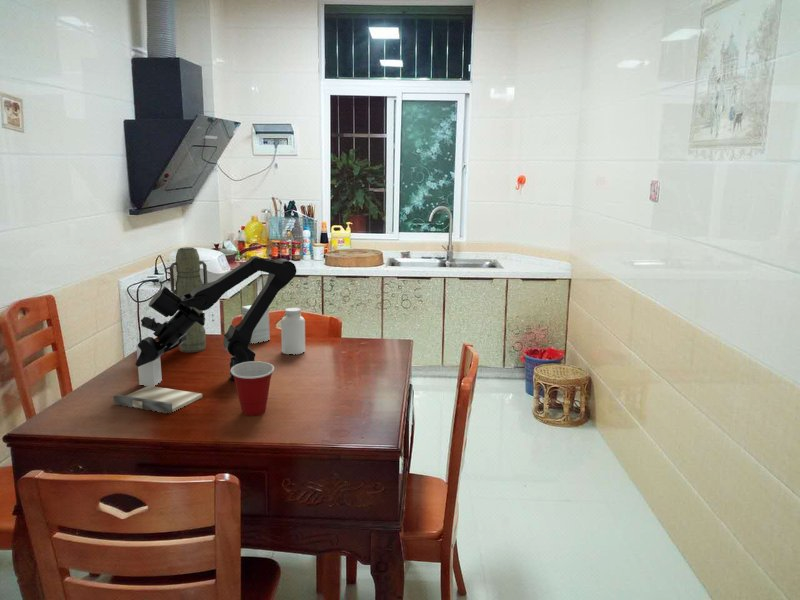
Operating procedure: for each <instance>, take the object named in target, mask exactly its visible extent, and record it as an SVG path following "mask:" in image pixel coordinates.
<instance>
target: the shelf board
mask: <svg viewBox="0 0 800 600" xmlns="http://www.w3.org/2000/svg"><path fill="white" fill-rule="evenodd" d="M202 398H203V393H199V392H195V391H187V390H179V389H173V388H167V387H162V386H161V387H160V386H144V387H143V388H140V389H137V390H136V391H134V392H131V393H128V394H126V395H123V394H117V393H116V394H114V395H113V405H114V404H115V406H120V405H122V407H126V406H128V408H132V407H134V408H133V409H138V408H140V409H139V410H143V409H145V411H149V410H152V411H151V412H155V411H157V412H156V413H161V412H162V413H163V414H167V413H169V414H168V415H171V414H173V413H175V412H177V411H178V409H179V410H181V409H183V408H184V406H185V407H186V406H188V405H190V404H192V403H194V402H196V401H199V400H200V399H202ZM180 408H181V409H180ZM176 410H177V411H176ZM174 411H175V412H174ZM172 412H173V413H172ZM170 413H171V414H170Z"/></svg>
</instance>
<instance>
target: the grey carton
mask: <svg viewBox="0 0 800 600" xmlns="http://www.w3.org/2000/svg"><path fill="white" fill-rule="evenodd" d="M140 353H141V349H140V348H139V347H138V344H136V360H137V359H138V357H139V355H140ZM161 364H162V363H161V356H160V357H159V358H158V359H156V360H154V361H151V362H149V363H146V364H144V365H141V366H139V367H137V373H138V383H139V385H144V386H143V387H147V386H155V385H156V386H157V385H159V384H160V383H162V382H163V379H162V378H163V377H162V365H161ZM161 381H162V382H161ZM158 383H159V384H158ZM156 386H155V387H156Z"/></svg>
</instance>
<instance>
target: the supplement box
mask: <svg viewBox="0 0 800 600" xmlns="http://www.w3.org/2000/svg"><path fill="white" fill-rule="evenodd" d="M251 306H252V304H251V305H243V306H241V320H242V319H243V318H244V316H245V315H246V313H247V312H248V310H249V309H250V307H251ZM269 307H270V306H269ZM269 307H268V309H267V310H266V312H265V313H264V315H263V316H262V318H261V320H260V321H259V323H258V324H257V326H256V327H255V329H254V331H253V333H252V338H251V342H250V344H251V343H252V345H253V343H254V344H258V342H259V343H263V341H264V342H269V341H268V340H270V341H271V336H270V335H271V334H270V311H269V309H270V308H269Z"/></svg>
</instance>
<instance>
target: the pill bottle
mask: <svg viewBox="0 0 800 600" xmlns="http://www.w3.org/2000/svg"><path fill="white" fill-rule="evenodd" d="M301 311H302V310H301V308H299V307H288V308H285V309H284V316H283V317H282V319H281V321H280V327H281V328H280V329H281V331H280V332H281V333H280V334H281V335H280V337H281V352H282V354H285V355H289V354H293V355H294V356H295V354H296V355H301V354H303V352H304V353H305V352H306V320H305V318H304V317H303V316H302V315H301V314H302V312H301Z"/></svg>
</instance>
